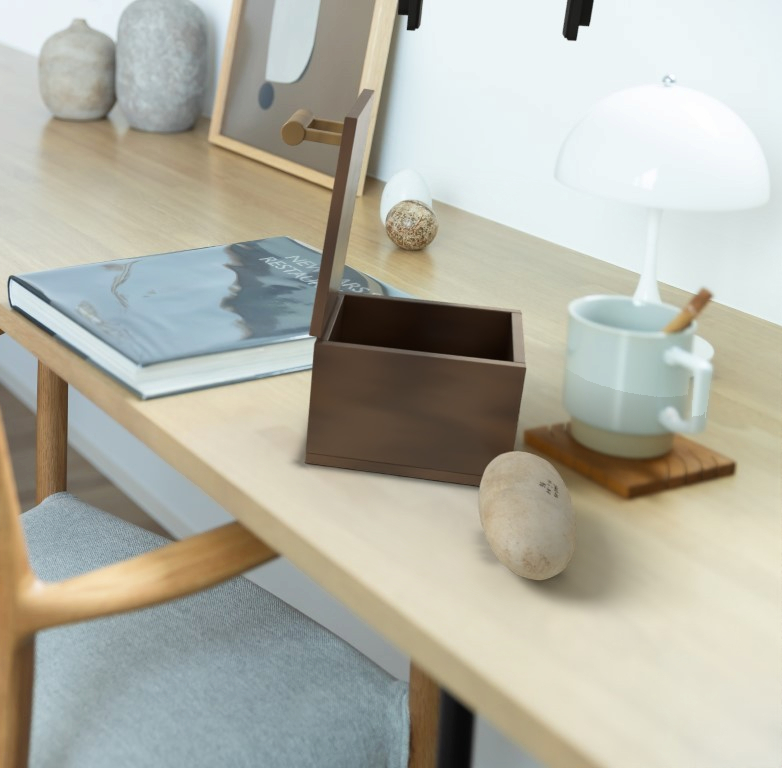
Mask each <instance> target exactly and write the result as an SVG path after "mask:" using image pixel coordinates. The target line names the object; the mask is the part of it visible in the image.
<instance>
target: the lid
mask: <svg viewBox="0 0 782 768" xmlns="http://www.w3.org/2000/svg"><path fill="white" fill-rule="evenodd" d="M375 92H376V91H375V89H370V88H363V90H362V91H361V92H360V94H359V96H357V98H356V100H355V101H354V103H353V104H352V106H351V107H350V108H349V110H348V112H347V113H346V115H345V116H344V119H343V121H340V120H333V119H328V118H321V117H316V116H315V114H314V113H313V111H312V110H310V109H307V108H300V109H297V110H296V111H295V112H293V114H292V115H291V116H290V118H289V119H287V120H286V122H285V123H284V124H283V125H282V126H281V129H280V137H281V140H282V141H283V142H284V143H285V144H286V145H287V146H291V147H292V146H293V147H295V146H296V147H297V146H298V145H300V144H302V143H303V142H304V141H306V142H313V143H319V144H325V145H329V146H337V147H339V150H338V156H337V161H336V168H335V173H334V179H333V185H332V192H331V198H330V205H329V211H328V216H327V222H326V228H325V233H324V240H323V247H322V253H321V258H320V264H319V272H318V277H317V283H316V288H315V295H314V301H313V307H312V314H311V320H310V326H309V333H308V336H309V337H315V338H317V337H319V338H320V337H321V335H322V333H323V330H324V328H325V325H326V322H327V320H328V317H329V315H330V312H331V310H332V307H333V304H334V302H335V299H336V297H337V294H338V292H339V291H340V289H341V287H342V283H343V277H344V271H345V267H346V266H345V265H346V259H347V253H348V247H349V242H350V237H351V232H352V231H351V230H352V226H353V225H352V224H353V220H354V215H355V214H354V213H355V207H356V203H357V202H356V201H357V197H358V190H359V185H360V178H361V174H362V166H363V161H364V155H365V151H366V143H367V138H368V134H369V133H368V132H369V127H370V121H371V116H372V110H373V105H374V104H373V103H374V98H375V94H376V93H375Z"/></svg>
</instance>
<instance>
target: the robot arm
mask: <svg viewBox="0 0 782 768" xmlns="http://www.w3.org/2000/svg"><path fill="white" fill-rule="evenodd" d="M594 1H595V0H566V6H565V12H564V20H563V25H562V32H561V33H562V36H563V38H564V39H566V40H567V41H568V42H577V40H578V34H579V28H580V27H587V28H589V27H590V25H591V21H592V15H593V8H594V3H595V2H594ZM397 5H398V6H397V16H406V17H407V21H406V31H409V32H410V31H411V32H414V31H416V30H418V29H420V27H421V24H422V14H423V5H424V0H398V4H397Z"/></svg>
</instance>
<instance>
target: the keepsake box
mask: <svg viewBox="0 0 782 768" xmlns="http://www.w3.org/2000/svg"><path fill="white" fill-rule="evenodd" d="M523 318H524V317H523V310H522V309H517V308H516V309H515V308H506V307H496V306H485V305H479V304H478V305H477V304H468V303H458V302H457V303H456V302H449V301H438V300H429V299H421V298H420V299H419V298H412V297H411V298H410V297H402V296H401V297H400V296H392V295H391V296H390V295H383V294H374V293H373V294H372V293H363V292H354V291H344V290H339V292H338V294H337V297H336V299H335V302H334V304H333V307H332V310H331V312H330V315H329V317H328V320H327V322H326V325H325V328H324V330H323V333H322V335H321V337H320V338H319V337H315V340H314V343H313V354H312V364H311V365H312V366H311V380H310V389H309V390H310V392H309V404H308V414H307V415H308V418H307V428H306V429H307V430H306V441H305V442H306V443H305V453H304V454H305V455H304V463H305V464H310V465H318V466H319V465H320V466H326V467H333V468H334V467H335V468H341V469H348V470H357V471H363V472H372V473H377V474H378V473H379V474H385V475H386V474H387V475H392V476H401V477H408V478H417V479H423V480H431V481H438V482H439V481H440V482H445V483H446V482H447V483H455V484H460V485H467V486H469V485H470V486H476V487H480V483H481V480H482V477H483V474H484V471H485V469H486V467H487V466H488V464H489V463H490V462H491V461H492V460H493V459H495V458H496V457H497V456H499V455H501V454H504V453H508V452H513V451H515V444H516V436H517V432H518V425H519V417H520V413H521V412H520V411H521V405H522V400H523V393H524V385H525V379H526V375H527V374H526V373H527V357H526V346H525V345H526V344H525V333H524V319H523Z"/></svg>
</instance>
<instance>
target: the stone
mask: <svg viewBox="0 0 782 768" xmlns="http://www.w3.org/2000/svg"><path fill="white" fill-rule="evenodd" d="M478 514H479V519H480V524H481V526H482V530H483V533H484V536H485V539H486V541H487V543H488V545H489V547H490V549H491V550H492V553H493V554H494V555H495V557H496V558H497V559H498V560H499V562H500V563H501V564H502V565H503V566H504V567H505V568H507V569H508V570H510V571H511V572H513V573H514V574H516V575H518V576H520V577H522V578H525V579H529V580H534V581H535V580H536V581H544V580H548V579H550V578H552V577H555V576H557V575H559V574H560V573H561V572H563V570H565V569H566V568H567V567H568V565H569V563H570V562H571V559H572V557H573V555H574V552H575V549H576V542H577V541H576V540H577V526H576V520H575V511H574V505H573V502H572V499H571V496H570V493H569V490H568V488H567V486H566V483H565V482H564V480H563V477H562V476H561V475H560V474H559V472H558V470H557V469H556V468H555V467H554V466H553V465H552V463H550V462H549V461H547V460H546V459H545V458H543V457H540V456H538V455H537V454H533V453H530V452H526V451H519V450H518V451H517V450H516V451H515V450H514V451H513V452H508V453H504V454H501V455H499V456H497V457H496V458H495V459H493V460H492V461H491V462H490V463H489V464H488V466H487V467H486V469H485V471H484V474H483V477H482V480H481V483H480V486H479V491H478Z"/></svg>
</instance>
